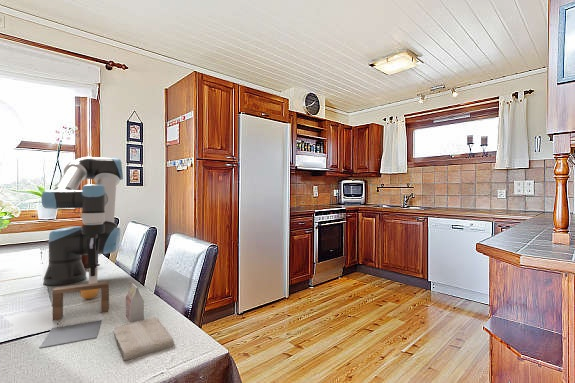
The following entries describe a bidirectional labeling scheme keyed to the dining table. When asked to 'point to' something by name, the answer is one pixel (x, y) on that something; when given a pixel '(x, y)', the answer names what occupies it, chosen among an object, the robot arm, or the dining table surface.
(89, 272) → the robot arm
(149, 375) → the dining table surface
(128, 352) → the washcloth
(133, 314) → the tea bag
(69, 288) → the bridge
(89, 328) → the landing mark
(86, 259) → the mug
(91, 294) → the ball
